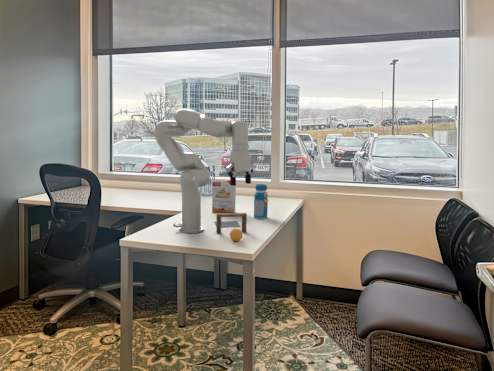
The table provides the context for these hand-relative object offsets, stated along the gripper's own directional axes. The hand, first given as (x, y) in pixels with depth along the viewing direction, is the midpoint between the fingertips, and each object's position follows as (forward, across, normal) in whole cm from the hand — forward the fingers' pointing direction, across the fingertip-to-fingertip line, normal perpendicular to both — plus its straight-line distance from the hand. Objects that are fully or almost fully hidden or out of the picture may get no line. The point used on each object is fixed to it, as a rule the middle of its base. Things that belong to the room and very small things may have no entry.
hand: (240, 184), depth 183 cm
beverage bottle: (+26, -40, -26) cm, 55 cm away
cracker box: (+25, -34, -52) cm, 67 cm away
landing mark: (+26, -14, -27) cm, 40 cm away
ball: (+24, +4, +1) cm, 24 cm away
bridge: (+26, -5, -13) cm, 29 cm away
